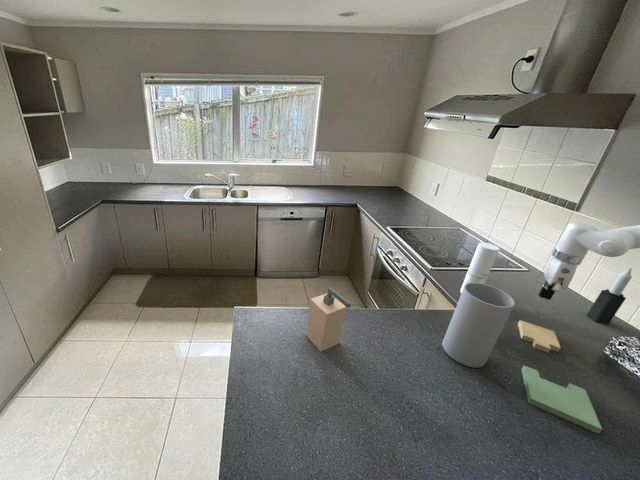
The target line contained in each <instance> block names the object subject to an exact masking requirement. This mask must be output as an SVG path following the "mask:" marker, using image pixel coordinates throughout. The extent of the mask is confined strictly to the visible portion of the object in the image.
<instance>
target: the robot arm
mask: <svg viewBox="0 0 640 480" xmlns="http://www.w3.org/2000/svg"><path fill="white" fill-rule="evenodd" d="M634 249H635V250H636V249H640V224H637V225H632V226H625V227H618V228H612V229H608V230H606V231H604V232H601V231H600V230H599V229H598V228H597V227H595V226H593V225H590V224H586V223H582V222H571V223H569V224H568V225H567V226H566V227H565V229H564V231H563V233H562V235H561V236H560V239H559V240H558V242H557V244H556V246H555V248H554V249H553V251H552V253H551V260H550V261H549V263H548V265H547V267H546V269H545V271H544V274H543V276H544V278H545V281H544V283H543V286H542V287H541V289H540V291H539V293H538V296H539V298H541V299H545V300H549V301H551V299H552V298H553V296H554V295H555V293H556V292H558V291H559V288H560V287H561V288H562V289H563V290H567V289H568V287H569V286H570V284H571V282H572V280H573V278H574V276H575V274H576V270H577V269H578V266H580V265H581V264H582V262H583V260H584V259H585V258H586V256H587V254H588V252H589V251H591V252H592V253H596V254H598V255H600V256H604V257H608V258H617V257H622V256H624V255H625V254H627V253H628V252H629V250H634Z"/></svg>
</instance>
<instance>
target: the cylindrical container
mask: <svg viewBox="0 0 640 480" xmlns="http://www.w3.org/2000/svg"><path fill="white" fill-rule="evenodd" d="M499 252H500V247H499V246H497V245H495V244H493V243H489V242H483V241H482V242H478V244H477V247H476V250H475V251H474V254H473V257H472V259H471V261H470V264H469V267H468V269H467V272H466V275H465V277H464V280H463V282H462V285H461V287H460V290H459V292H460V295H461V294H462V291H463V289H464V286H465V284H467V283H482V284H486V282H487V279H488V277H489V275H490V272H491V270H492V267H493V266H494V263H495V260H496V258H497V256H498V253H499Z"/></svg>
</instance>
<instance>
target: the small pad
mask: <svg viewBox="0 0 640 480" xmlns="http://www.w3.org/2000/svg"><path fill="white" fill-rule="evenodd" d="M517 327H518V331H519V335H520V339H521V340H523V341H526V342H529V343H532V348H533V349H536V350H538V351H541V352H544V353H548V354H549V353H550V351H553V352H557V353H559V352H560V351H561V345H560V342H559V339H558V337H557V334H556V332H555V331H554V330H551V329H549V328H545V327H542V326H539V325H536V324H533V323H530V322H527V321H524V320H521V319H519V321H518V322H517Z"/></svg>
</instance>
